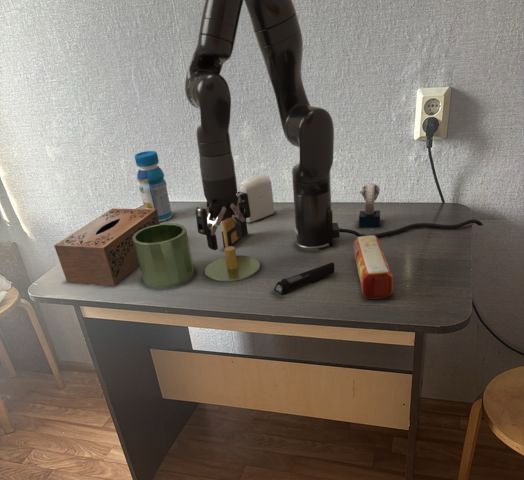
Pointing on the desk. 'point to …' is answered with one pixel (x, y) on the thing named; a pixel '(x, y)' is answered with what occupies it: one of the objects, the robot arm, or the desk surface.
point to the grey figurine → (369, 207)
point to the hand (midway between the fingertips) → (227, 243)
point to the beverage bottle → (153, 184)
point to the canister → (163, 254)
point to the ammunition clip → (231, 231)
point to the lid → (232, 267)
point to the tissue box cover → (104, 247)
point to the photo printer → (258, 196)
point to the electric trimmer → (304, 278)
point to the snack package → (372, 268)
